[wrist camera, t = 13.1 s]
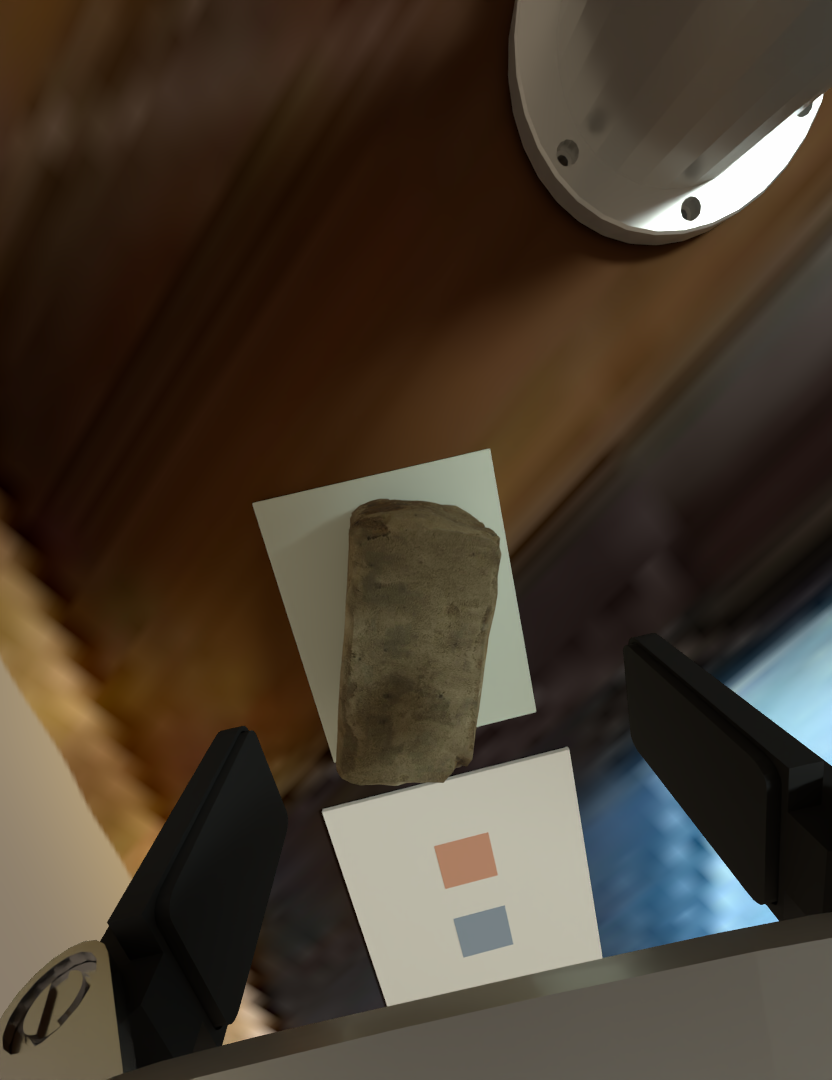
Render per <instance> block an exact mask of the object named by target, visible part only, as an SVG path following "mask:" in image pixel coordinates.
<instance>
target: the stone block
mask: <svg viewBox="0 0 832 1080" xmlns="http://www.w3.org/2000/svg"><path fill="white" fill-rule="evenodd" d="M351 514H352V515H351V517H350V528H349V550H348V572H347V591H346V605H345V627H344V640H343V650H342V662H341V671H340V685H339V703H338V731H337V750H336V768H337V772H338V774H339V775H340V777H341V778H343V779H345V780H347V781H348V782H350V783H354V784H358V785H375V784H383V785H393V786H398V785H401V784H404V783H412V782H417V783H444V782H445V781H446V779H447V778H448V777H449V776H450V775H451V774H452V772H453V771H454V769H455V768H458V767H461V766H462V765H464V766H467V765H468V764H469V763H470V761H471V760H472V756H473V748H474V741H475V733H476V726H477V719H478V713H479V707H480V700H481V692H482V685H483V677H484V668H485V662H486V655H487V648H488V639H489V634H490V630H491V625H492V621H493V617H494V612H495V608H496V601H497V595H498V572H499V565H500V560H501V555H502V554H501V550H500V537H499V536H498V535H497V534H496V533H495V532H494V531H493V530H492V529H490V528H486V527H485V525H484V524H483V523H482V522H479V521H478V519H476V518H475V517H473V516H472V515H471V514H470V513H468V512H466V511H465V510H463V509H461V508H459V507H458V506H456V505H441V504H437V503H433V502H428V501H418V500H415V501H410V500H395V499H394V500H389V499H381V498H380V499H376V500H372V501H369V502H367V503H365V504H362V505H360V506H358V507H357V508H356V509H355V510H354V511H353V512H352V513H351Z"/></svg>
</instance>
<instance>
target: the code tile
mask: <svg viewBox="0 0 832 1080" xmlns="http://www.w3.org/2000/svg"><path fill="white" fill-rule="evenodd" d="M322 813H323V816H324V819H325V822H326V825H327V828H328V831H329V834H330V837H331V840H332V843H333V846H334V849H335V852H336V855H337V858H338V861H339V864H340V867H341V870H342V873H343V876H344V879H345V882H346V885H347V888H348V891H349V894H350V897H351V900H352V903H353V906H354V909H355V912H356V915H357V918H358V921H359V924H360V927H361V930H362V933H363V935H364V938H365V941H366V944H367V947H368V950H369V953H370V956H371V959H372V962H373V965H374V968H375V971H376V974H377V977H378V980H379V983H380V986H381V989H382V992H383V995H384V998H385V1001H386V1004H387V1007H388V1006H392V1005H396V1004H401V1003H405V1002H409V1001H414V1000H418V999H423V998H427V997H432V996H436V995H440V994H445V993H449V992H454V991H458V990H463V989H467V988H471V987H476V986H480V985H485V984H489V983H494V982H498V981H503V980H507V979H511V978H516V977H520V976H525V975H529V974H534V973H538V972H543V971H547V970H552V969H556V968H561V967H565V966H570V965H574V964H579V963H583V962H588V961H593V960H597V959H602V952H601V946H600V940H599V933H598V927H597V921H596V914H595V908H594V902H593V896H592V889H591V883H590V877H589V870H588V864H587V858H586V852H585V845H584V839H583V833H582V826H581V820H580V814H579V808H578V801H577V795H576V789H575V782H574V776H573V770H572V764H571V757H570V751H569V748H568V747H565V748H561V749H557V750H553V751H549V752H545V753H541V754H537V755H533V756H529V757H526V758H522V759H518V760H514V761H510V762H506V763H502V764H498V765H494V766H490V767H486V768H482V769H478V770H474V771H471V772H467V773H463V774H459V775H455V776H451V777H448V778H447V779H446V781H445V782H444V783H423V784H419V785H416V786H412V787H408V788H404V789H400V790H396V791H392V792H388V793H384V794H380V795H376V796H372V797H368V798H364V799H361V800H357V801H353V802H349V803H345V804H341V805H337V806H333V807H329V808H325V809H323V810H322Z"/></svg>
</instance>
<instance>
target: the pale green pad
mask: <svg viewBox="0 0 832 1080" xmlns="http://www.w3.org/2000/svg"><path fill="white" fill-rule="evenodd" d="M380 498H381V499H389V500H394V499H395V500H410V501H415V500H418V501H428V502H433V503H437V504H441V505H456V506H458V507H459V508H461V509H463V510H465V511H466V512H468V513H470V514H471V515H472V516H473V517H475V518H476V519H478V521H479V522H482V523H483V524H484V525H485V527H486V528H490V529H492V530H493V531H494V532H495V533H496V534H497V535H498V536H499V537H500V550H501V554H502V555H501V560H500V565H499V572H498V595H497V601H496V608H495V612H494V617H493V621H492V625H491V630H490V634H489V639H488V648H487V655H486V662H485V668H484V677H483V685H482V692H481V700H480V707H479V713H478V719H477V726H476V727H478V726H482V725H486V724H490V723H494V722H498V721H502V720H506V719H510V718H514V717H518V716H522V715H526V714H530V713H534V712H536V707H535V701H534V696H533V690H532V684H531V679H530V673H529V667H528V662H527V656H526V650H525V645H524V639H523V633H522V628H521V622H520V616H519V611H518V605H517V599H516V594H515V588H514V582H513V577H512V571H511V565H510V560H509V554H508V548H507V543H506V537H505V531H504V526H503V520H502V514H501V509H500V503H499V497H498V492H497V486H496V480H495V475H494V469H493V463H492V458H491V452H490V449H485V450H481V451H476V452H472V453H467V454H463V455H459V456H454V457H450V458H446V459H441V460H437V461H433V462H428V463H424V464H420V465H415V466H411V467H407V468H402V469H398V470H394V471H389V472H385V473H380V474H376V475H372V476H367V477H363V478H359V479H354V480H350V481H346V482H341V483H337V484H333V485H328V486H324V487H320V488H315V489H311V490H307V491H302V492H298V493H294V494H289V495H285V496H280V497H276V498H272V499H267V500H263V501H259V502H255V503H252V505H253V508H254V511H255V514H256V518H257V521H258V524H259V527H260V530H261V533H262V536H263V540H264V543H265V546H266V549H267V552H268V555H269V559H270V562H271V565H272V568H273V571H274V574H275V578H276V581H277V584H278V587H279V590H280V593H281V596H282V600H283V603H284V606H285V609H286V612H287V615H288V619H289V622H290V625H291V628H292V631H293V634H294V637H295V641H296V644H297V647H298V650H299V653H300V656H301V660H302V663H303V666H304V669H305V672H306V675H307V679H308V682H309V685H310V688H311V691H312V694H313V697H314V701H315V704H316V707H317V710H318V713H319V716H320V720H321V723H322V726H323V729H324V732H325V735H326V738H327V742H328V745H329V748H330V751H331V754H332V757H333V761H334V763H335V762H336V750H337V731H338V703H339V685H340V671H341V662H342V650H343V640H344V627H345V605H346V591H347V572H348V550H349V528H350V517H351V515H352V514H351V513H352V512H353V511H354V510H355V509H356V508H357V507H358V506H360V505H362V504H365V503H367V502H369V501H372V500H376V499H380Z"/></svg>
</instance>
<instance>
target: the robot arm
mask: <svg viewBox="0 0 832 1080" xmlns="http://www.w3.org/2000/svg"><path fill="white" fill-rule="evenodd" d="M508 81H509V88H510V95H511V102H512V110H513V115H514V118H515V122H516V125H517V128H518V131H519V135H520V138H521V141H522V145H523V148H524V150H525V152H526V154H527V156H528V158H529V160H530V162H531V164H532V166H533V168H534V170H535V172H536V174H537V176H538V178H539V179H540V180H541V182H542V183H543V184H544V186H545V187H546V188H547V190H548V191H549V192H550V194H551V195H552V196H553V197H554V199H555V200H556V201H557V203H558V204H560V205H561V206H562V207H563V208H564V209H565V210H566V211H567V212H569V213H570V214H571V215H572V216H573V217H574V218H575V219H576V220H578V221H579V222H580V223H582V224H584V225H585V226H587V227H589V228H591V229H592V230H594V231H596V232H598V233H599V234H601V235H603V236H606V237H609V238H612V239H616V240H619V241H622V242H626V243H629V244H643V245H662V244H668V243H674V242H680V241H684V240H687V239H690V238H692V237H695V236H697V235H700V234H702V233H705V232H708V231H710V230H711V229H713V228H714V227H716V226H718V225H719V224H721V223H722V222H724V221H725V220H727V219H729V218H730V217H732V216H733V215H735V214H736V213H738V212H739V211H741V210H742V209H743V208H744V207H746V206H747V205H748V204H750V203H751V202H752V201H753V200H755V199H756V198H757V197H759V196H760V195H761V194H763V193H764V191H765V190H766V189H767V188H768V187H769V186H770V185H771V184H772V183H773V182H774V180H775V179H776V178H777V177H778V176H779V175H780V174H781V173H782V172H783V171H784V170H785V168H786V167H787V165H788V164H789V162H790V161H791V159H792V158H793V156H794V155H795V153H796V152H797V150H798V149H799V147H800V146H801V144H802V143H803V141H804V139H805V137H806V135H807V133H808V131H809V129H810V127H811V125H812V123H813V121H814V119H815V117H816V115H817V112H818V110H819V107H820V104H821V101H822V98H823V95H824V93H825V92H826V91H827V90H828V89H829V88H831V87H832V0H515V3H514V9H513V15H512V21H511V27H510V33H509V44H508ZM623 654H624V665H625V676H626V687H627V699H628V710H629V721H630V732H631V737H632V740H633V743H634V745H635V747H636V749H637V750H638V752H639V753H640V754H641V756H642V757H643V758H644V759H645V761H646V762H647V763H648V765H649V766H650V767H651V768H652V770H653V771H654V772H655V774H656V775H657V776H658V778H659V779H660V780H661V781H662V783H663V784H664V785H665V787H666V788H667V789H668V790H669V792H670V793H671V794H672V796H673V797H674V798H675V800H676V801H677V802H678V803H679V805H680V806H681V807H682V809H683V810H684V811H685V812H686V814H687V815H688V816H689V818H690V819H691V820H692V822H693V823H694V824H695V825H696V827H697V828H698V829H699V831H700V832H701V833H702V834H703V836H704V837H705V838H706V840H707V841H708V842H709V844H710V845H711V846H712V847H713V849H714V850H715V851H716V853H717V854H718V855H719V856H720V858H721V859H722V860H723V862H724V863H725V864H726V866H727V867H728V868H729V869H730V871H731V872H732V873H733V875H734V876H735V877H736V878H737V880H738V881H739V882H740V884H741V885H742V886H743V888H744V889H745V890H746V891H747V893H748V894H749V895H750V896H751V897H752V899H753V900H754V901H756V902H757V903H758V904H760V905H763V904H766V905H767V906H768V907H769V909H770V910H771V911H772V912H773V914H774V915H775V916H776V918H777V919H778V920H779V921H778V922H773V923H768V924H763V925H758V926H753V927H747V928H742V929H737V930H732V931H727V932H722V933H717V934H712V935H707V936H703V937H698V938H694V939H689V940H684V941H680V942H675V943H671V944H666V945H661V946H657V947H652V948H648V949H643V950H638V951H634V952H629V953H625V954H620V955H615V956H611V957H606V958H602V959H597V960H593V961H588V962H583V963H579V964H574V965H570V966H565V967H561V968H556V969H552V970H547V971H543V972H538V973H534V974H529V975H525V976H520V977H516V978H511V979H507V980H503V981H498V982H494V983H489V984H485V985H480V986H476V987H471V988H467V989H463V990H458V991H454V992H449V993H445V994H440V995H436V996H432V997H427V998H423V999H418V1000H414V1001H409V1002H405V1003H401V1004H396V1005H392V1006H388V1007H383V1008H379V1009H375V1010H370V1011H366V1012H362V1013H357V1014H353V1015H349V1016H344V1017H340V1018H336V1019H331V1020H327V1021H323V1022H319V1023H314V1024H310V1025H306V1026H301V1027H297V1028H293V1029H288V1030H284V1031H280V1032H275V1033H271V1034H267V1035H262V1036H258V1037H254V1038H250V1039H246V1040H242V1041H238V1042H234V1043H230V1044H227V1045H223V1046H222V1044H223V1040H224V1037H225V1033H226V1029H227V1026H228V1025H229V1024H232V1023H233V1022H234V1020H235V1018H236V1016H237V1014H238V1011H239V1008H240V1004H241V1000H242V997H243V993H244V989H245V985H246V982H247V978H248V974H249V970H250V967H251V963H252V959H253V955H254V952H255V948H256V944H257V940H258V937H259V933H260V929H261V925H262V922H263V918H264V914H265V910H266V907H267V903H268V899H269V895H270V892H271V888H272V884H273V880H274V877H275V873H276V869H277V865H278V862H279V858H280V854H281V850H282V847H283V843H284V839H285V835H286V832H287V826H288V817H287V812H286V809H285V807H284V804H283V802H282V799H281V796H280V794H279V791H278V789H277V786H276V784H275V781H274V779H273V776H272V774H271V771H270V768H269V766H268V763H267V761H266V758H265V756H264V753H263V751H262V748H261V746H260V743H259V740H258V738H257V735H256V733H255V732H254V731H252V730H251V731H249V730H248V728H246V727H245V726H240V727H236V728H232V729H227V730H223V731H220V732H219V733H218V734H217V735H216V737H215V739H214V740H213V742H212V744H211V745H210V747H209V749H208V751H207V752H206V754H205V756H204V757H203V759H202V761H201V763H200V764H199V766H198V768H197V769H196V771H195V773H194V775H193V776H192V778H191V780H190V781H189V783H188V785H187V787H186V788H185V790H184V792H183V793H182V795H181V797H180V799H179V800H178V802H177V804H176V805H175V807H174V809H173V810H172V812H171V814H170V816H169V817H168V819H167V821H166V822H165V824H164V826H163V828H162V829H161V831H160V833H159V834H158V836H157V838H156V840H155V841H154V843H153V845H152V846H151V848H150V850H149V852H148V853H147V855H146V857H145V858H144V860H143V862H142V864H141V865H140V867H139V869H138V870H137V872H136V874H135V876H134V877H133V879H132V881H131V882H130V884H129V886H128V887H127V889H126V891H125V893H124V894H123V896H122V898H121V899H120V901H119V903H118V905H117V906H116V908H115V910H114V912H113V913H112V915H111V917H110V919H109V920H108V922H107V923H108V925H109V927H108V929H107V930H106V932H105V934H104V936H103V937H102V939H101V941H100V942H99V941H97V940H93V941H85V942H82V943H80V944H77V945H75V946H73V947H70V948H68V949H67V950H66V951H64V952H63V953H61V954H60V955H58V956H57V957H55V958H54V959H52V960H51V961H50V962H49V963H48V964H46V965H45V966H44V967H43V968H42V969H41V970H40V971H39V972H38V973H36V974H35V975H34V976H33V978H31V979H30V981H29V982H28V983H27V984H26V985H25V986H24V987H23V988H22V989H21V991H19V993H18V994H17V995H16V997H15V998H14V999H13V1001H12V1002H11V1004H10V1005H9V1006H8V1008H7V1009H6V1010H5V1012H4V1013H3V1015H2V1017H1V1019H0V1080H832V766H831V765H830V764H828V763H827V762H826V761H824V760H823V759H822V758H820V757H819V756H818V755H816V754H815V753H814V752H812V751H811V750H810V749H809V748H807V747H806V746H805V745H803V744H802V743H801V742H799V741H798V740H797V739H795V738H794V737H793V736H791V735H790V734H789V733H787V732H786V731H785V730H783V729H782V728H781V727H779V726H778V725H777V724H775V723H774V722H773V721H772V720H770V719H769V718H768V717H766V716H765V715H764V714H762V713H761V712H760V711H758V710H757V709H756V708H754V707H753V706H752V705H750V704H749V703H748V702H746V701H745V700H744V699H742V698H741V697H740V696H739V695H737V694H736V693H735V692H733V691H732V690H731V689H729V688H728V687H727V686H725V685H724V684H722V683H721V682H720V681H719V680H717V679H716V678H715V677H713V676H712V675H711V674H709V673H708V672H707V671H705V670H704V669H703V668H701V667H700V666H699V665H697V664H696V663H695V662H693V661H692V660H691V659H689V658H688V657H687V656H686V655H684V654H683V653H682V652H680V651H679V650H678V649H676V648H675V647H674V646H672V645H671V644H670V643H668V642H667V641H666V640H664V639H663V638H662V637H660V636H659V635H657V634H656V633H651V634H647V635H642V636H638V637H633V638H631V639H630V640H629V645H626V646H624V648H623Z"/></svg>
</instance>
